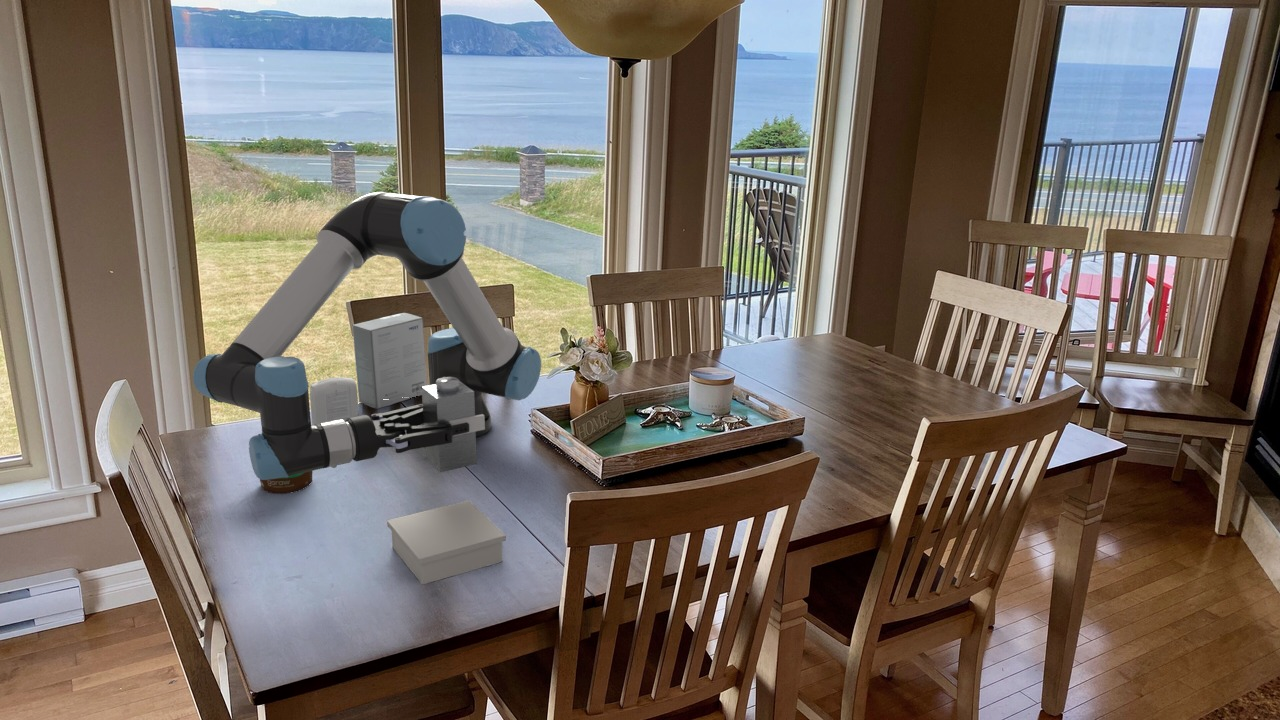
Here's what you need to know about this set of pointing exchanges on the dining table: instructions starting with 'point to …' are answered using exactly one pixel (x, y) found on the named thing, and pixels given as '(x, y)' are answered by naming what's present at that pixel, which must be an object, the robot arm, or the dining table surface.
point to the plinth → (446, 541)
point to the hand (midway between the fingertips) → (474, 414)
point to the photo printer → (333, 400)
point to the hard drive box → (389, 359)
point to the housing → (441, 407)
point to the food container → (287, 483)
